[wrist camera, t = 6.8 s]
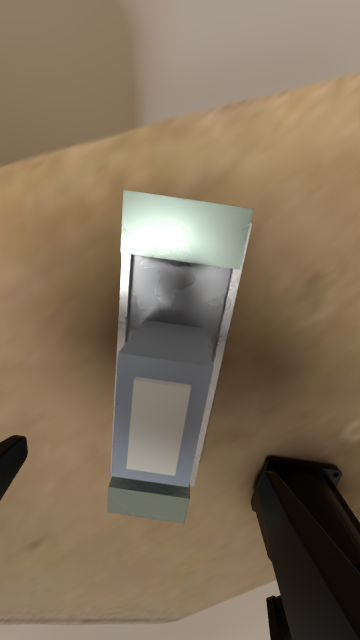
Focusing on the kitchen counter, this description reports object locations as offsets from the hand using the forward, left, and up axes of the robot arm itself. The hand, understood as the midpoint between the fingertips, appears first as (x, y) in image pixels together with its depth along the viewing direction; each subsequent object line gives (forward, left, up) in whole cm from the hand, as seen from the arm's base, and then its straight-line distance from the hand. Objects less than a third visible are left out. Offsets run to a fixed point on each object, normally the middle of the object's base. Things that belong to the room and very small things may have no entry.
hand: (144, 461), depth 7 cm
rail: (0, 0, -8) cm, 8 cm away
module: (0, 0, -7) cm, 7 cm away
